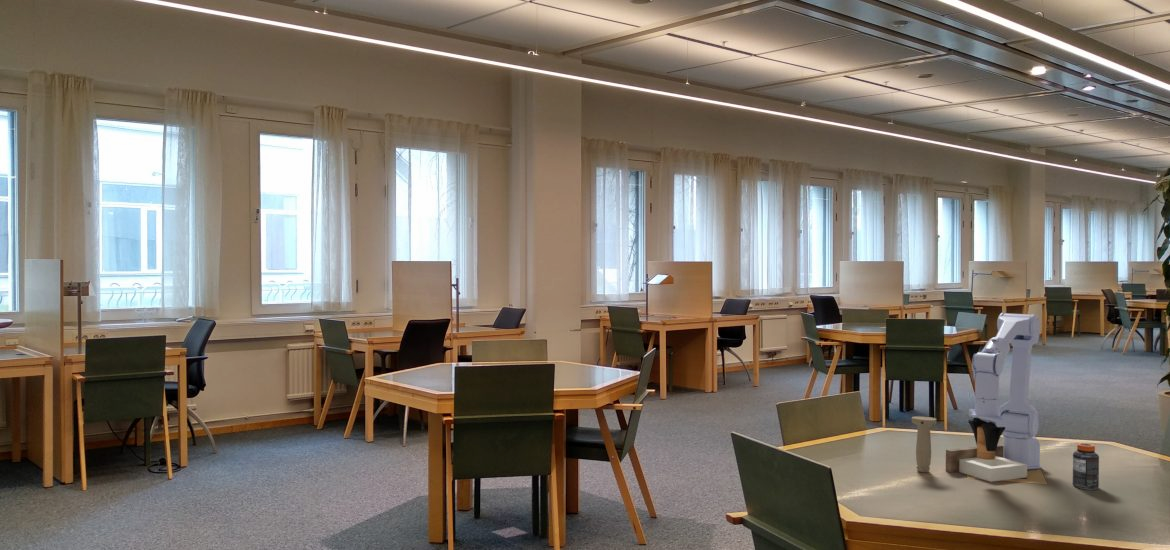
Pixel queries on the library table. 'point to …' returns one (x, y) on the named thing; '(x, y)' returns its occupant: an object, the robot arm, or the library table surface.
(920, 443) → the handle
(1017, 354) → the robot arm
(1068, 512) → the library table surface
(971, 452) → the wall
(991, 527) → the library table surface
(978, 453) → the dowel
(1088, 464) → the pill bottle
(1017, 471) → the socket block
